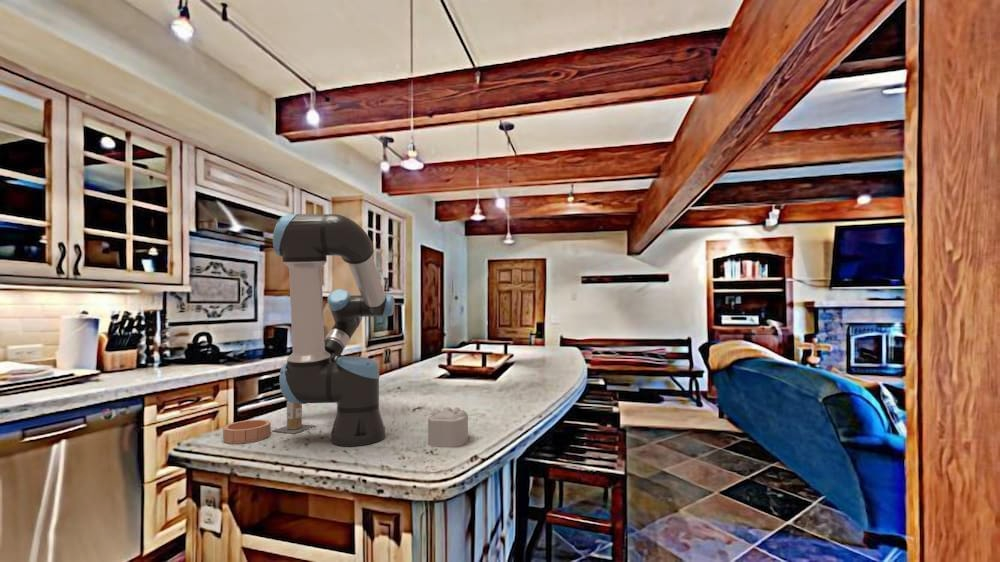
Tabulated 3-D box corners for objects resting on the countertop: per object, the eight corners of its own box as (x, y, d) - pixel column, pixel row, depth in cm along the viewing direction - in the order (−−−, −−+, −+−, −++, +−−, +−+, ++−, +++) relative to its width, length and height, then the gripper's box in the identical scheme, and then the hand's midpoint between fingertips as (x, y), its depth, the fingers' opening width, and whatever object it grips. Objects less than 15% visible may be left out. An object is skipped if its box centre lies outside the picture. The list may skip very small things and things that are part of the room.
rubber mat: (316, 426, 151) (316, 425, 151) (294, 434, 142) (294, 433, 142) (294, 424, 154) (294, 423, 154) (271, 431, 145) (271, 430, 145)
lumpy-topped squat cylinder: (424, 446, 129) (424, 414, 129) (438, 433, 142) (438, 404, 142) (461, 448, 127) (461, 415, 127) (472, 434, 140) (472, 404, 140)
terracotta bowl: (278, 434, 142) (279, 421, 143) (244, 445, 131) (244, 432, 131) (249, 430, 147) (249, 418, 147) (213, 441, 136) (213, 428, 136)
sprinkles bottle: (303, 428, 147) (303, 385, 148) (287, 431, 145) (287, 386, 145) (300, 425, 151) (300, 383, 152) (285, 427, 149) (285, 384, 149)
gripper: (368, 352, 164) (338, 405, 150) (311, 350, 173) (278, 400, 159) (358, 338, 159) (326, 391, 145) (300, 337, 169) (265, 387, 154)
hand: (301, 396), depth 152 cm, fingers open, 13 cm apart
